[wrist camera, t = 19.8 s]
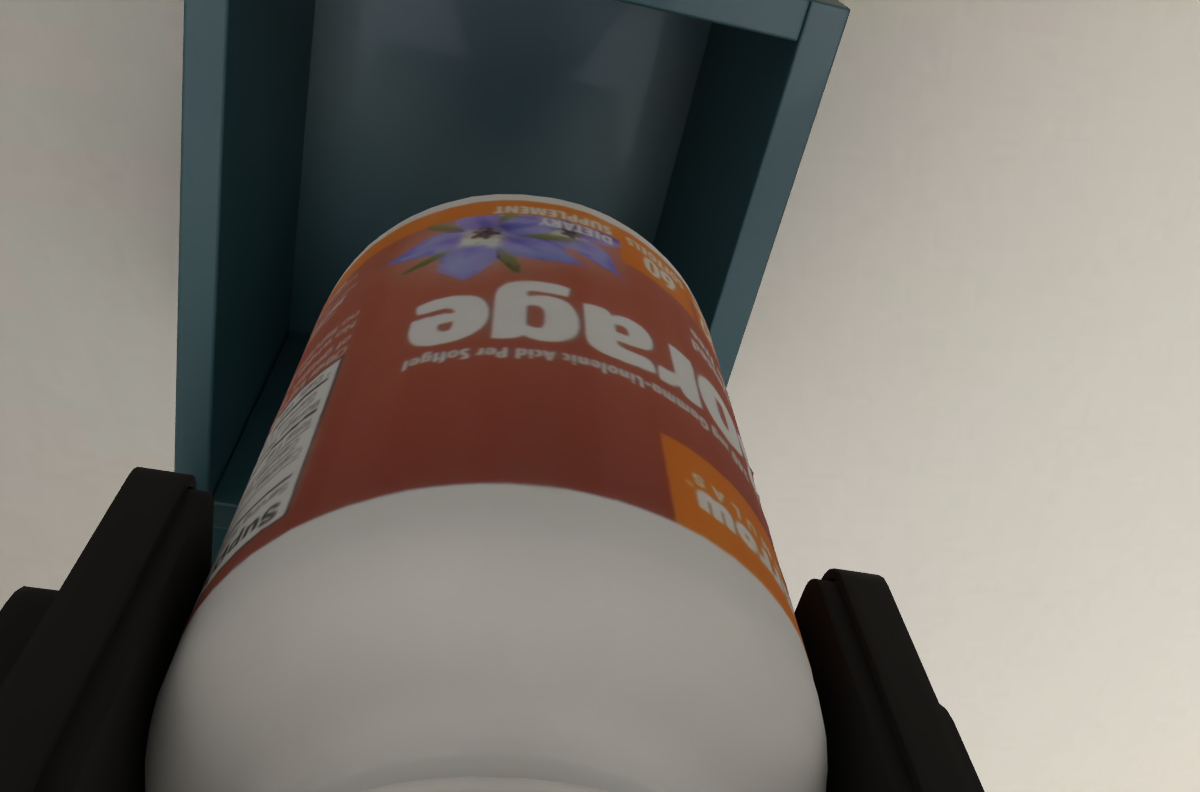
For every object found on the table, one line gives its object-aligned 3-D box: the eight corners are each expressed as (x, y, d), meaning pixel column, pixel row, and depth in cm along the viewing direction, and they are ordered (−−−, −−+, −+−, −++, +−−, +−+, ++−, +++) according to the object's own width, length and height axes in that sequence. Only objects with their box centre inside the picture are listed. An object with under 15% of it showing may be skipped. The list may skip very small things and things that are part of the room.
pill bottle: (787, 301, 16) (1169, 1076, 6) (584, 573, 18) (638, 1416, 9) (423, 98, 14) (181, 763, 4) (252, 432, 16) (-131, 1307, 7)
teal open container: (302, -170, 26) (185, -150, 17) (757, -58, 28) (851, 8, 19) (267, 336, 33) (172, 523, 25) (631, 397, 35) (659, 591, 26)
